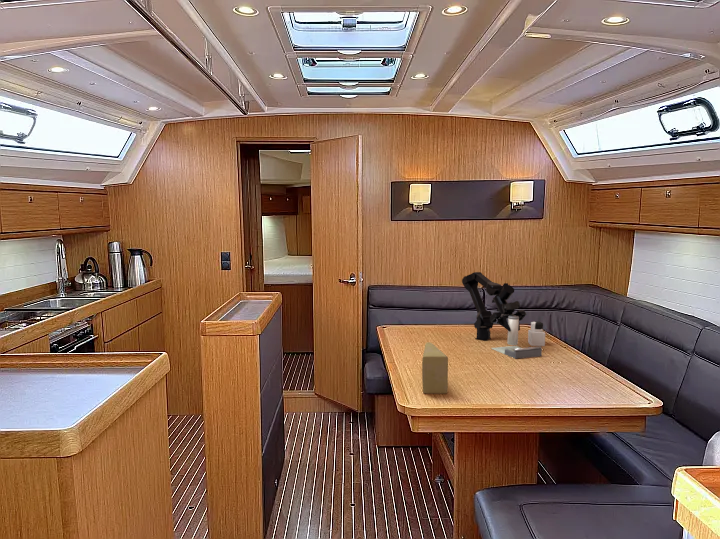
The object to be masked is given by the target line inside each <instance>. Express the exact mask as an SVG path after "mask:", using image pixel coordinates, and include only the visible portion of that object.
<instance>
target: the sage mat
mask: <svg viewBox="0 0 720 539" xmlns="http://www.w3.org/2000/svg"><path fill="white" fill-rule="evenodd" d="M519 348H522V347H520V346H518V345H508V346H499V347H491V348H490V349H491V350H494V351H496V352H498V353H501V354H503V355H505V349H508V350H511V351H513V352H514V349H519Z"/></svg>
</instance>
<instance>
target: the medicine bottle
mask: <svg viewBox="0 0 720 539" xmlns="http://www.w3.org/2000/svg"><path fill="white" fill-rule="evenodd" d="M543 330H544V323H543V322H541V321H531V322H530V329H528V332H527V343H528V344H529V345H530V347H539V346H541V347H545V346H546V332H545V331H543Z"/></svg>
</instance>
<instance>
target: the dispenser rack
mask: <svg viewBox="0 0 720 539" xmlns="http://www.w3.org/2000/svg"><path fill="white" fill-rule="evenodd" d="M542 347H543V346H528V347H521V348H519V349H514V352H513V351H511V350H508V349H505V354H504V355H505V356H507V355H508V356H507V357H510V358H512V357H513V359H514V358H515V359H514V360H519V359H518V358H520V359H527V358H528V359H529V358H537V357H542V356H543V355H542V353H543V351H542V350H543V348H542Z"/></svg>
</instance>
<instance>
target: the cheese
mask: <svg viewBox="0 0 720 539" xmlns="http://www.w3.org/2000/svg"><path fill="white" fill-rule="evenodd" d="M421 361H422V362H421V363H422V365H421V376H422V378H421V380H422V382H421V383H422V393H423V394H431V395H432V394H439V395H441V394H444V395H445V394H447V393H448V389H449V388H448V387H449V386H448V385H449V383H448V382H449V380H448V379H449V376H448V375H449V356H448V355H447V354H446V353H444V352H443V351H442V350H440V349H439V348H438V347H437V346H436V345H435V344H434V343H432V342H431V341H430V342H425V344H424V350H423V355H422V359H421Z"/></svg>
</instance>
